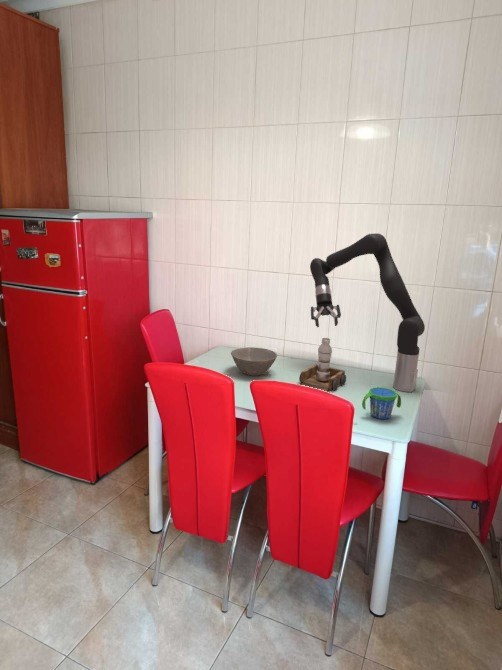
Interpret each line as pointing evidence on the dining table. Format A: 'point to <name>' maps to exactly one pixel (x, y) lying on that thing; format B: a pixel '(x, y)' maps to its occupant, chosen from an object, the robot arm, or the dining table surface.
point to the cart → (333, 383)
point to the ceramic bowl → (253, 360)
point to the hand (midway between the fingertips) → (327, 326)
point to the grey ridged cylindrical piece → (324, 360)
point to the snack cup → (381, 402)
